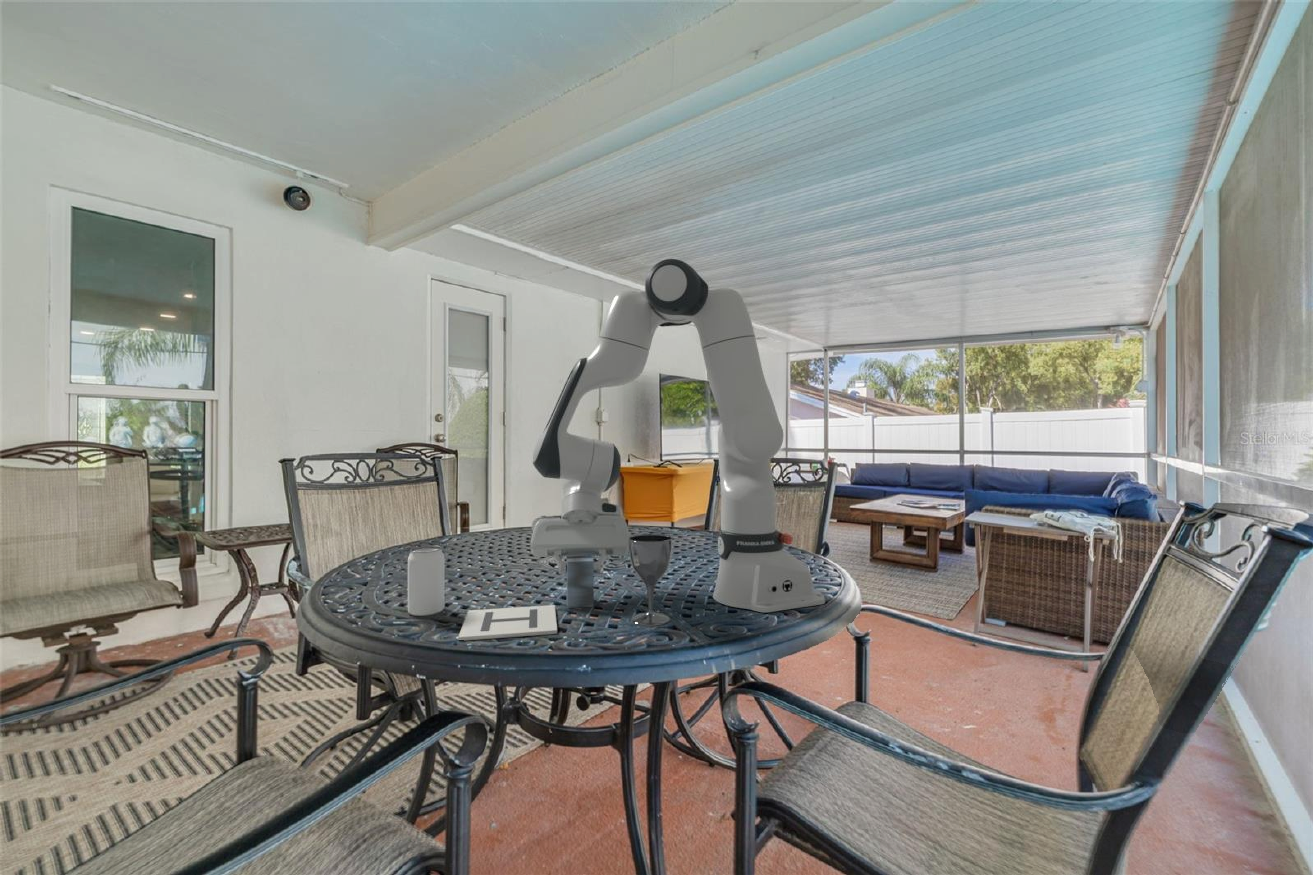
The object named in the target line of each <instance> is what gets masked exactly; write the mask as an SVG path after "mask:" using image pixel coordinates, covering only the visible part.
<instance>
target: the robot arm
mask: <svg viewBox="0 0 1313 875" xmlns="http://www.w3.org/2000/svg"><path fill="white" fill-rule="evenodd" d="M691 323H692V324H693V325H694V326H695V328H696V330H697V332H698V336H699V340H700V346H701V350H702V355H703V360H704V364H705V368H706V369H705V370H706V375H707V378H708V383H709V388H710V390H711V394H712V396H713V399H714V401H715V402H714V403H715V405H716V409H717V413H718V416H719V419H720V424H719V426H718V430H717V448H718V449H717V450H718V451H717V452H718V453H717V454H718V468H719V469H718V470H719V480H720V481H719V482H720V529H719V530H718V539H717V542H718V543H717V547H718V548H717V550H718V557H719V563H718V571H717V572H718V573H717V578H716V583H715V587H714V591H713V593H712V598H713V600H714V601H716V602H718V603H719V604H721V605H722V604H723V605H725V606H728V607H733V608H739V609H745V610H746V609H747V610H751V611H755V612H758V613H773V612H779V611H786V610H791V609H792V610H793V609H799V608H806V607H812V606H818V605H824V604H825V603H826V599H825V595H824V594H823V592H821V591H819V590H818V589H816V588H815V587H814V582H813V576H812V574H811V571H810V569H809V568H808V567H807V566H806V565H805V564H803V562H802V561H800V560H799V559H798V558H796V556H794V555H793V554H791V553H790V552H789V551H788V550H787V549H786V548H784V545H789V546H790V545H792V543H793V542H794V539H793V538H794V537H793V536H792V535H791V534H789V533H782V532H780V531H779V530H777V529H776V490H775V489H776V488H775V486H774V479H773V472H772V464H771V459H772V458H774V457H775V456H776V455H777V453H778V452H779V451H780V449H781V448H782V446H783V442H784V430H783V426H782V424H781V421H780V420H779V417H778V414H777V410H776V407H775V404H774V401H773V398H772V394H771V392H770V389H769V387H768V384H767V382H766V379H765V375H764V371H763V367H762V363H761V357H760V353H759V348H758V344H757V341H756V340H757V339H756V335H755V331H754V326H753V324H752V319H751V316H750V314H749V311H748V308H747V306H746V303H745V301H744V299H743V297H742V295H741V294H740V292H738V291H737V290H736V289H732V288H728V287H727V288H726V287H723V288H721V287H720V288H716V289H709V285H708V284H707V282H706V281H705V280H704V279H703V278H702V277H701V275H699V274H698V272H697V271H696V269H694V268H693V267H692V265H689V263H687V262H685V261H683V260H680V259H676V258H668V259H663V260H659V261H658V262H657V263H656V264H655V265H653V266H652V267H651V269H650V270H649V271H648V273H647V276H646V278H645V283H644V290H643V291H637V290H623V291H620V292H618V293H617V294H615V295H614V296H613V298H612V301H611V302H610V304H609V307H608V309H607V311H606V313H605V316H604V319H603V322H602V325H601V328H600V332H599V335H598V339H597V342H596V344H595V346H594V348H593V350H591V352H590V353H589V355H587V356H586V357H583V358H579V359H578V360H577V362H576V363H575V364H574V366H573V367H572V369H571V371H570V373H569V376H568V377H567V379H566V381H565V384H564V385H563V388H562V390H561V393H560V395H559V397H558V400H557V401H556V403H555V406H554V408H553V410H552V413H551V415H550V418H549V420H548V422H547V424H546V426H545V428H544V430H543V432H542V434H541V435H540V437H539V438H538V439H537V441H536V444H535V446H534V449H533V454H532V464H533V466H534V468H535V469H536V470H537V472H538V473H539V474H540V475H541V477H543V478H546V479H557V480H560V479H562V480H563V484H562V490H563V494H564V495H563V496H564V497H563V498H562V501H561V502H562V503H561V511H560V513H561V514H560V515H541V516H539V517H537V518H535V519H533V521H532V523H531V531H532V535H531V539H530V546H529V547H530V553H531V554H532V555H533V556H534V558H544V557H545V558H549V557H550V558H551V557H552V558H553V559H554V562H555V563H556V565H557V566H558V574H559V575H567V561H566V562H563V561H562V557H567V556H587V555H591V556H592V557H598V559H597V561H594V574H601V567H602V566H603V564H604V563H605V562H606V559H607V557H611V556H626V555H628V554H629V537H630V532H629V529H628V524H627V521H626V520H625V518H624V516H623V514H624V513H623V509H622V506H621V505H618V504H614V503H611V502H606V501H605V500H602V494H603V493H606V492H607V491H609V490H610V489H611V488H612V487H613V486H614V485H615V484H617V482H618V479H619V476H620V474H621V473H620V472H621V466H622V465H621V464H622V460H621V458H622V457H621V453H620V452H619V450H618V448H617V446H616V445H615V444H614V443H611V442H609V441H608V442H607V441H604V440H600V439H595V438H589V437H584V436H581V435H576V434H572V433H569V432H568V428H569V425H570V424H571V421H572V420H573V417H574V414H575V413H576V409H577V408H578V405H579V403H580V401H581V399H582V398H583V397H584V396H585V395H586V394H587V393H589V392H591V391H593V390H597V389H603V388H612V387H618V386H624V385H627V384H629V383H632V382H633V381H635V380H636V379H638V377H640V376H641V374H642V373H643V371H644V369H645V366H646V364H647V360H648V358H649V357H648V356H649V353H650V350H651V346H652V342H653V337H654V334H655V333H656V331H657V329H658V327H662V328H663V327H677V326H685V325H689V324H691Z"/></svg>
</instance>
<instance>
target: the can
mask: <svg viewBox="0 0 1313 875" xmlns="http://www.w3.org/2000/svg"><path fill="white" fill-rule="evenodd" d="M442 549H443V548H442V546H439V545H422V546H417V547H413V548H410V550H409V551H410V552H409V555H408V557H407V612H408V614H409V615H410V616H412V617H429V616H434V615H439V614H440V613H441V612H442V611H443V610H444V609H445V554H444V552H443V551H442Z"/></svg>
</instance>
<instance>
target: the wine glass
mask: <svg viewBox="0 0 1313 875" xmlns="http://www.w3.org/2000/svg"><path fill="white" fill-rule="evenodd" d="M672 553H673V536H671V535H669V534H663V533H639V534H638V533H637V534H633V535H629V552H628V554H629V558H630V559H629V560H630V564H631V567H632V569H633V571H634V572H635V574H637V576H638V577H639V578H640V580H641V581H642V582H643V583H644V585H645V588H646V592H647V602H648V609H647V612H641V613H638V614H634V615H633V616H631V619H630V621H631V622H632V623H633V624H636V625H638V626H645V627H654V626H656V627H657V626H661V625H665V624H667V623H669V622H670V621H671V618H670V617H669V615H667V614H666V613H665V614H664V613H660V612H654V610H653V608H654V606H653V605H654V603H653V601H654V593H655V589H656V585H657V583H658V582H659V580H660V579H661V578H662V577H663V576H664V575H665V573H666V572H667V571H668V569H669V567H670V564H671V560H672V555H673V554H672Z"/></svg>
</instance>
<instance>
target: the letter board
mask: <svg viewBox="0 0 1313 875" xmlns="http://www.w3.org/2000/svg"><path fill="white" fill-rule="evenodd" d="M556 615H557V614H556V605H555V604H550V605H547V604H546V605H534V606H532V605H531V606H517V607H515V606H514V607H503V608H487V609H485V608H484V609H472V610H471V609H470V610H467V613H466V616H465V618H464V620H463V623H462V626H461V629H460V632H459V634H458V637H457V641H458V640H464V641H476V640H487V639H488V640H489V639H500V638H501V639H504V638H514V637H515V638H516V637H527V636H528V637H529V636H543V635H556V634H558V625H557V616H556Z"/></svg>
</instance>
